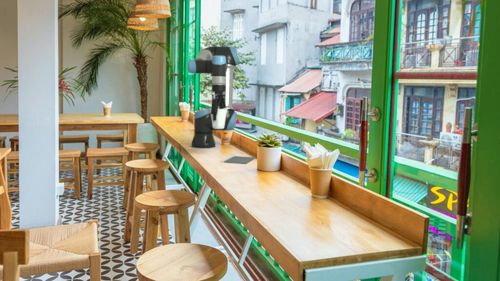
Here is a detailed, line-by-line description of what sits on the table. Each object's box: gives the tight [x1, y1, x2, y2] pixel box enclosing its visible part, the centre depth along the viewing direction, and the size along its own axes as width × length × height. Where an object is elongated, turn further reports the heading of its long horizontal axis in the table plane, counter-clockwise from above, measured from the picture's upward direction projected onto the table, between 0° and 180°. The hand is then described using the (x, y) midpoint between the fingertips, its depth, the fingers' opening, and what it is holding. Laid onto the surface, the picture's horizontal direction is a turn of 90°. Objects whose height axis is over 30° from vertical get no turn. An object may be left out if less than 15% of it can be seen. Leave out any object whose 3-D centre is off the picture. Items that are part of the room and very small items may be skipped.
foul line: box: [220, 154, 235, 163], centre depth 249 cm, size 18×1×1 cm, turn 164°
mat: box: [223, 155, 256, 165], centre depth 246 cm, size 18×12×1 cm, turn 164°
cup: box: [209, 107, 227, 129], centre depth 251 cm, size 10×10×11 cm
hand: (218, 125), depth 252 cm, fingers closed on cup, 9 cm apart
